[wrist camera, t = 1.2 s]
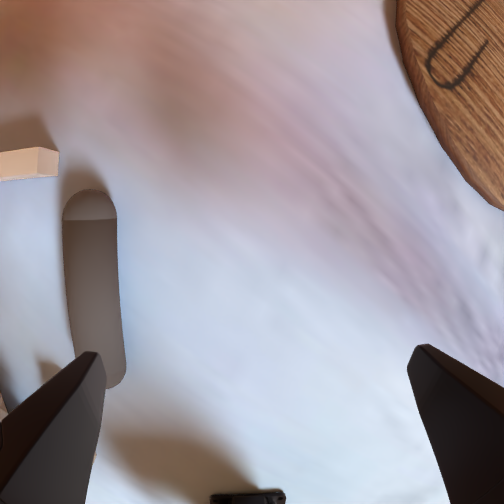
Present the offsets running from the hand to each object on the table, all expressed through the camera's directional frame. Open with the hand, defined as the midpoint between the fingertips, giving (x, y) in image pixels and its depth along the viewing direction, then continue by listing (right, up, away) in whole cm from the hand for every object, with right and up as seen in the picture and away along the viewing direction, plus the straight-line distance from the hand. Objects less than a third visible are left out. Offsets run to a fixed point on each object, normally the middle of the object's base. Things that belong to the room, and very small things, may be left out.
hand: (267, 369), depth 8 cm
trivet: (+22, +19, +11) cm, 31 cm away
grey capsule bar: (-10, +1, +10) cm, 14 cm away
